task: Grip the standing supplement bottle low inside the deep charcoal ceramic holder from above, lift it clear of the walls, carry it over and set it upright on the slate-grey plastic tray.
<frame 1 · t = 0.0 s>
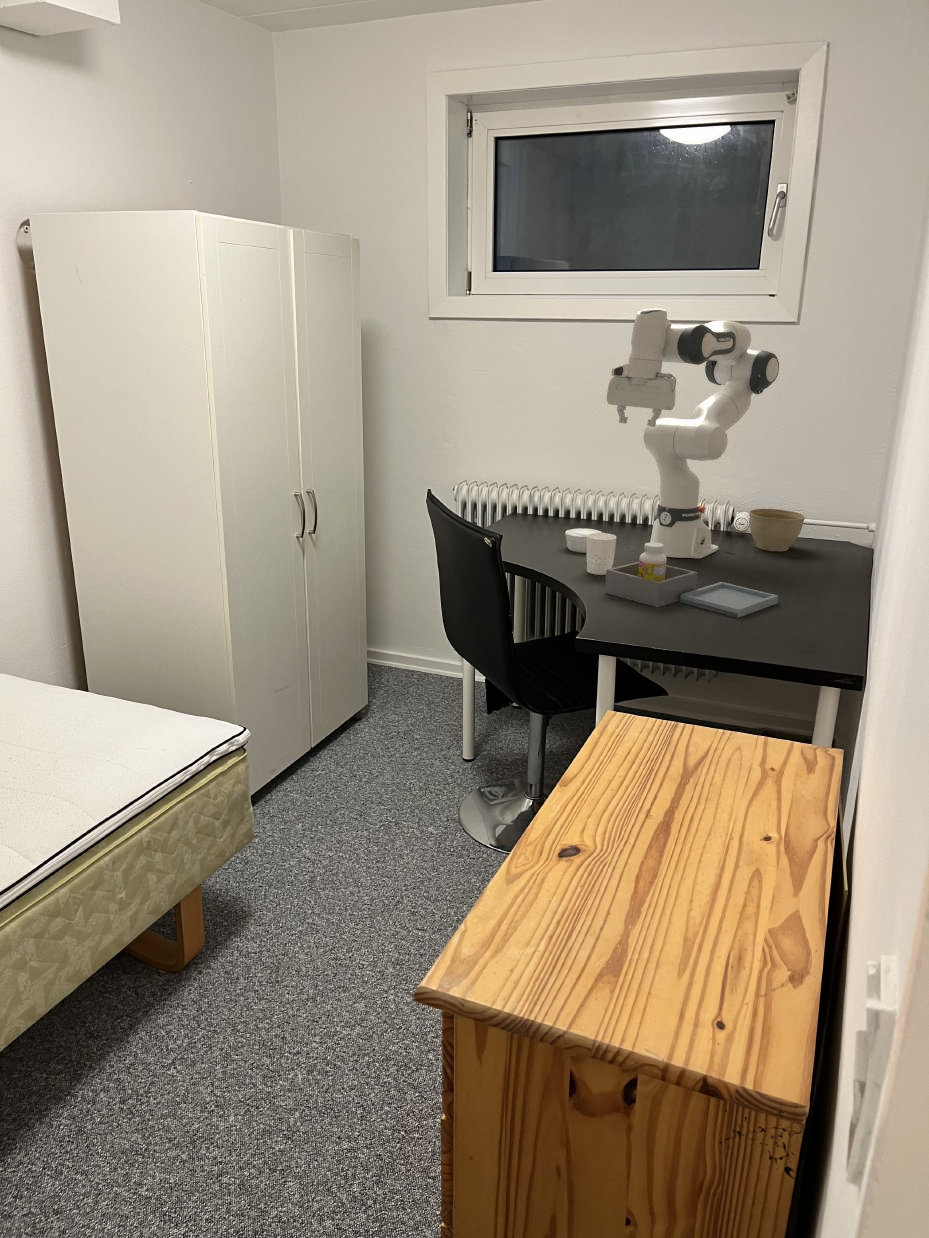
hand: (636, 425, 245), 39 cm above the table, tool pointing down, fingers open, 8 cm apart
ramekin: (583, 550, 274), on the table
planter bowl: (772, 549, 280), on the table
supplement bottle: (649, 594, 229), resting in deep holder
tray: (728, 602, 223), on the table
deep holder: (649, 594, 229), on the table
white cup: (599, 572, 249), on the table
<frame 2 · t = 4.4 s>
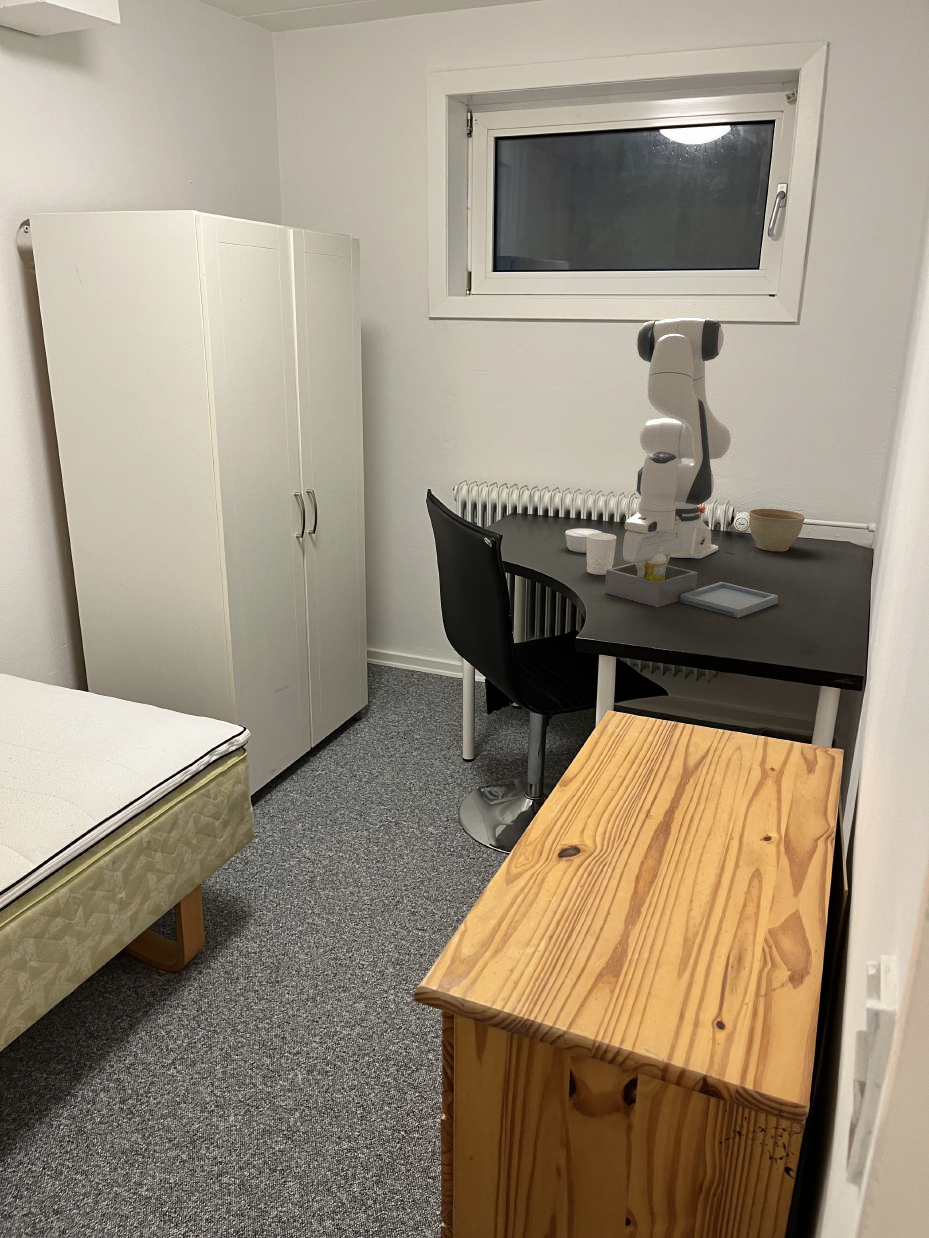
hand: (651, 574, 227), 5 cm above the table, tool pointing down, fingers closed on supplement bottle, 7 cm apart
supplement bottle: (649, 594, 229), resting in deep holder, touching gripper
everything else where it was.
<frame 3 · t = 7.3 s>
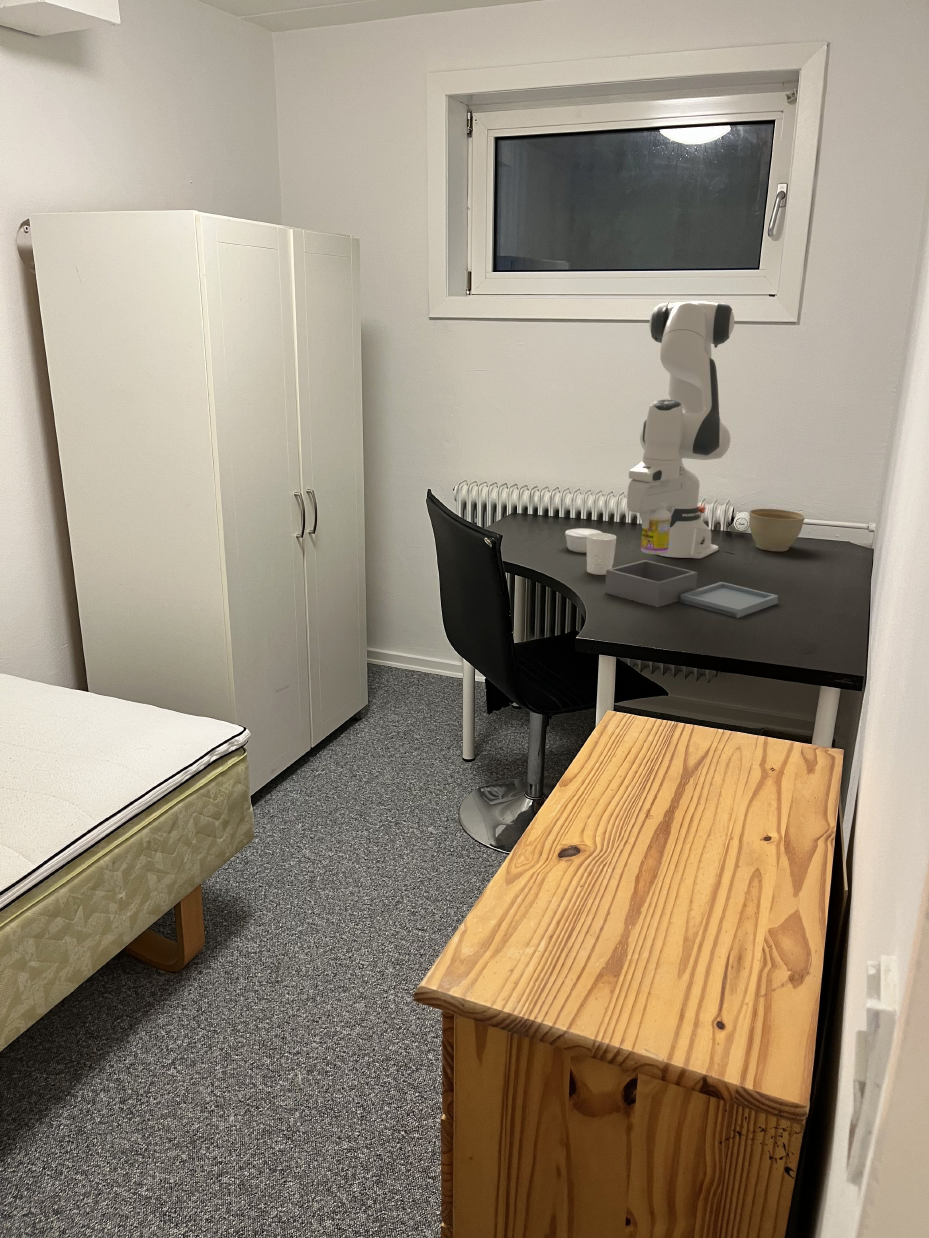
hand: (656, 525, 224), 17 cm above the table, tool pointing down, fingers closed on supplement bottle, 7 cm apart
supplement bottle: (654, 552, 226), point 11 cm above the table, touching gripper
everything else where it was.
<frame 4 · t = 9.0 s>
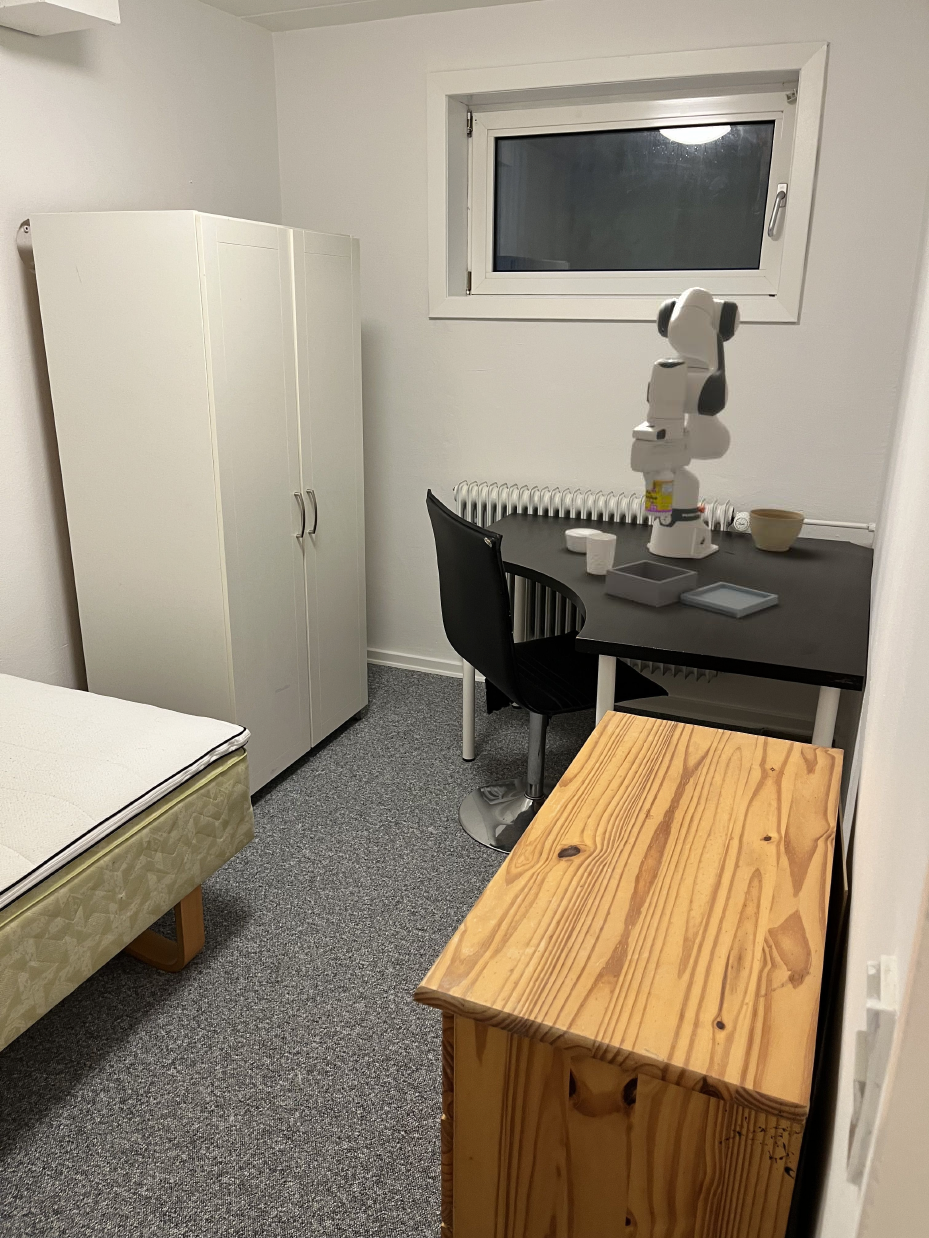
hand: (659, 487, 221), 27 cm above the table, tool pointing down, fingers closed on supplement bottle, 7 cm apart
supplement bottle: (657, 515, 223), point 20 cm above the table, touching gripper
everything else where it was.
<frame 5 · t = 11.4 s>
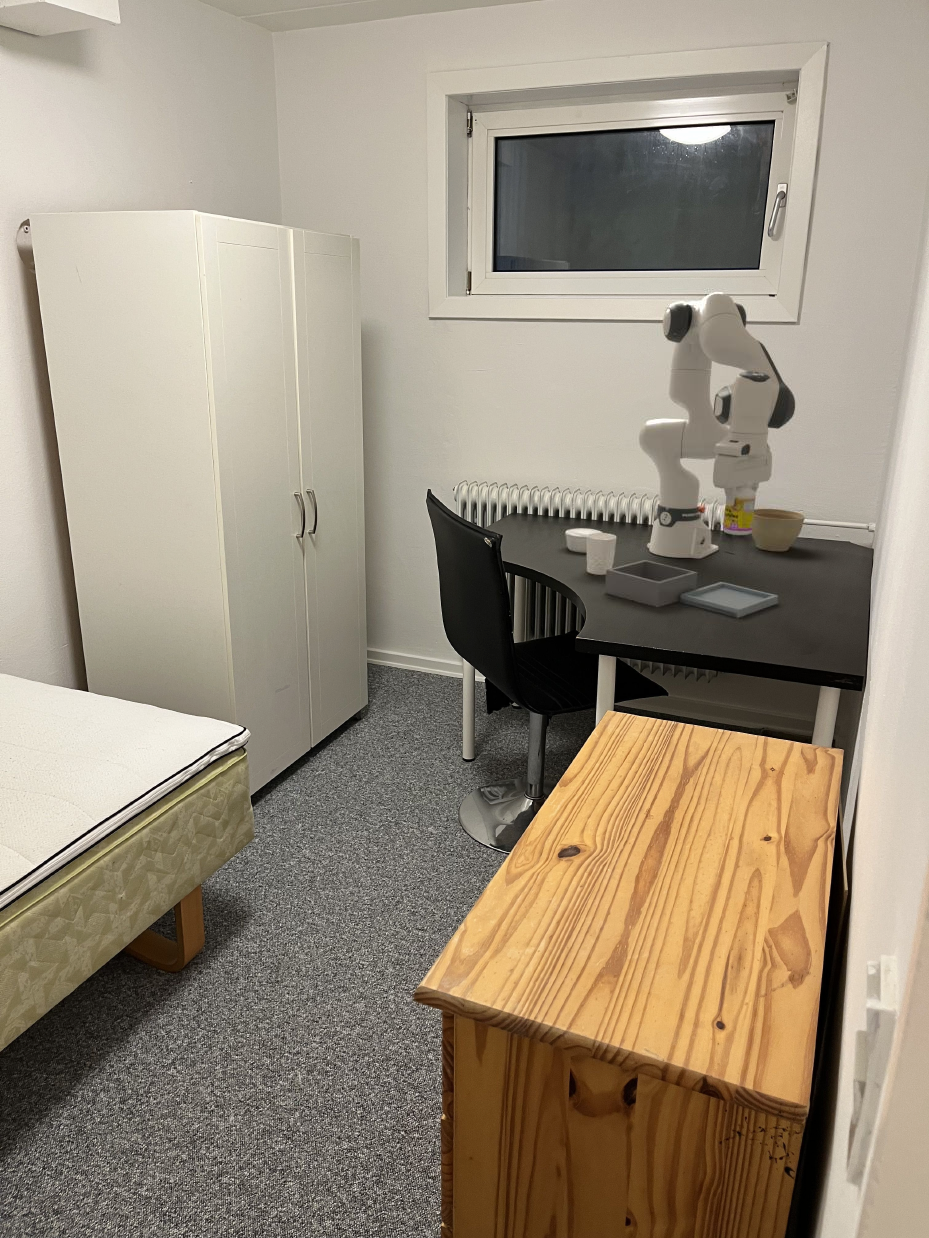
hand: (740, 503, 216), 25 cm above the table, tool pointing down, fingers closed on supplement bottle, 7 cm apart
supplement bottle: (737, 533, 218), point 17 cm above the table, touching gripper
everything else where it was.
when the fingers open (8 cm above the table, at t = 15.3 s): supplement bottle stays where it is, resting on tray.
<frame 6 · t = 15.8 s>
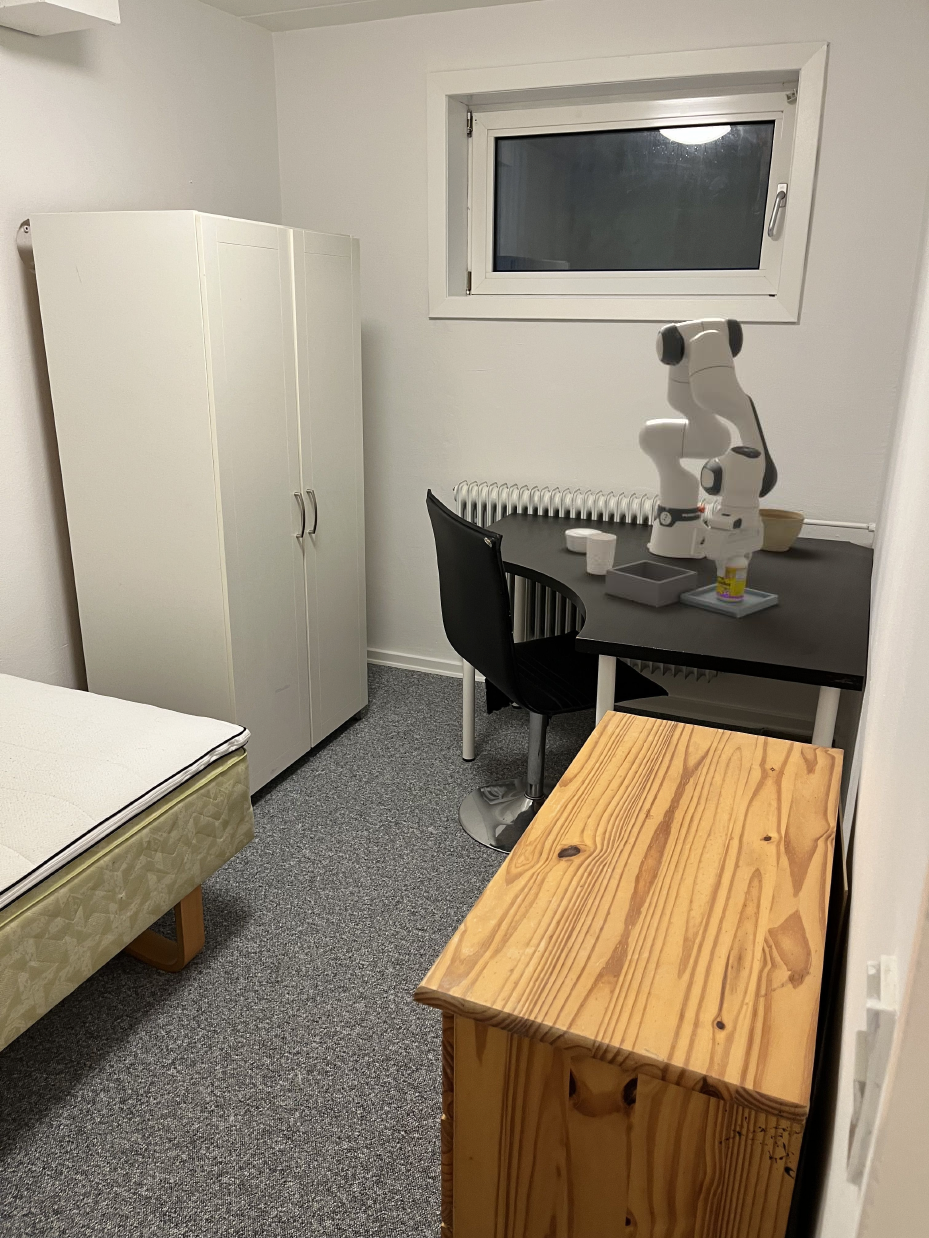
hand: (732, 572, 221), 8 cm above the table, tool pointing down, fingers open, 8 cm apart
supplement bottle: (729, 599, 223), point 1 cm above the table, touching tray
everything else where it was.
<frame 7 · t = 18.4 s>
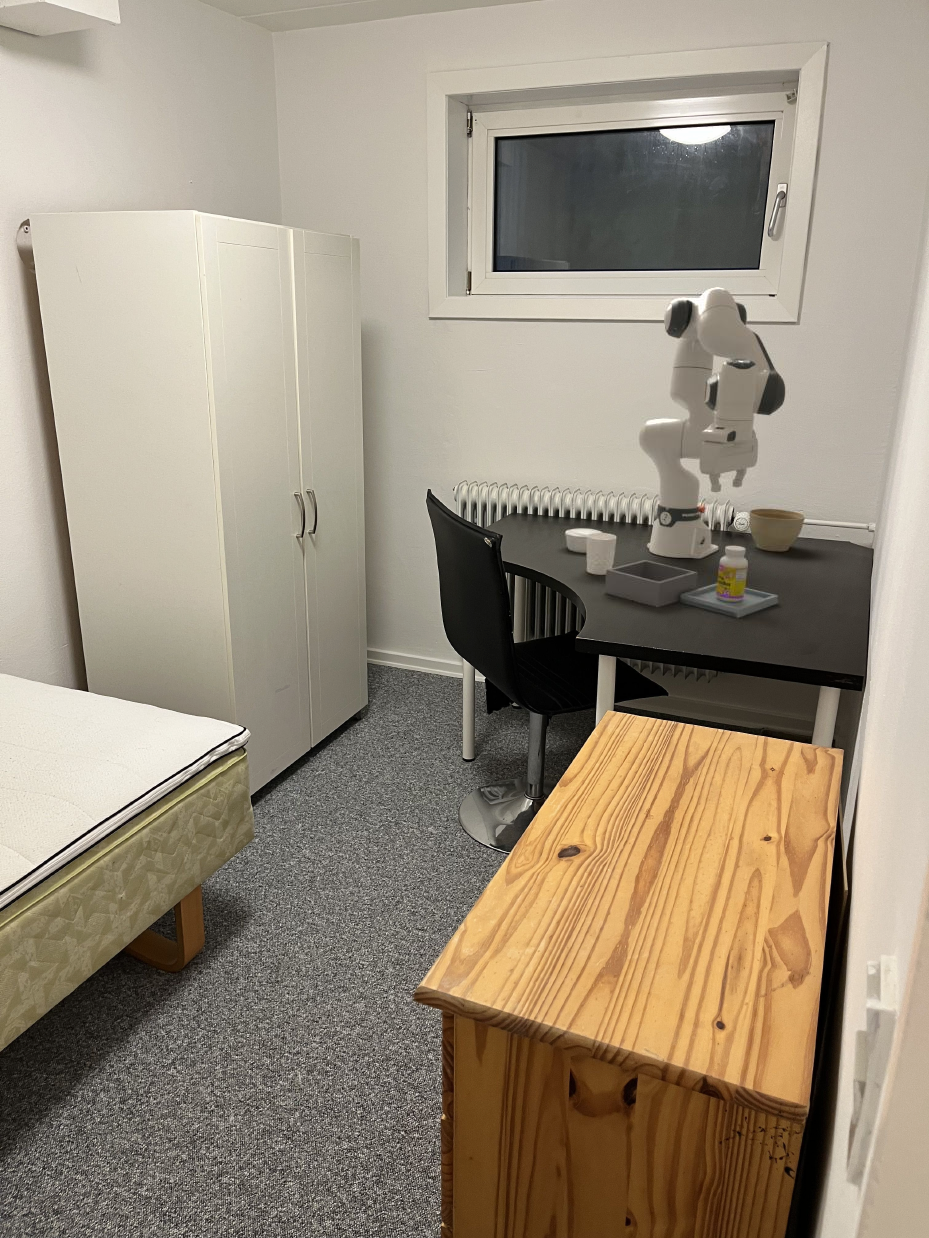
hand: (726, 489, 219), 27 cm above the table, tool pointing down, fingers open, 8 cm apart
nothing on the table moved.
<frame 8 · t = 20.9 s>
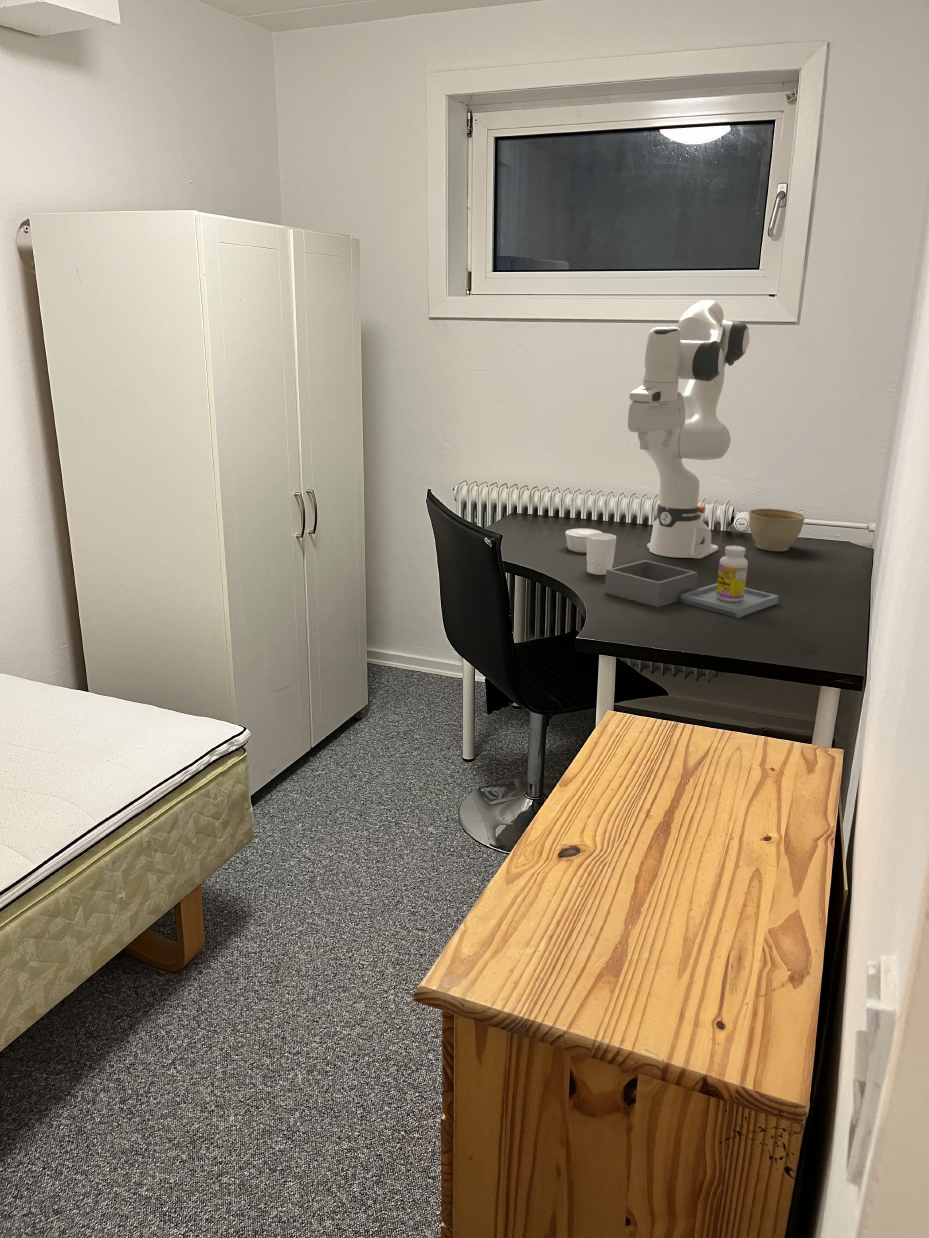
hand: (655, 448, 236), 34 cm above the table, tool pointing down, fingers open, 8 cm apart
nothing on the table moved.
at the end: supplement bottle inside the target area on the tray (0.0 cm from its centre), point 0.8 cm above the tray's base; supplement bottle tilted 0°; the gripper is holding nothing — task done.
